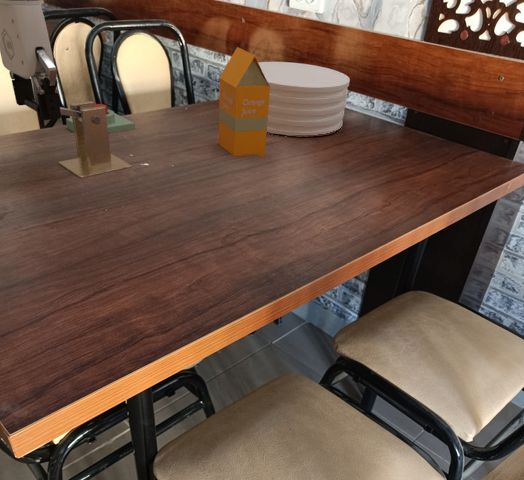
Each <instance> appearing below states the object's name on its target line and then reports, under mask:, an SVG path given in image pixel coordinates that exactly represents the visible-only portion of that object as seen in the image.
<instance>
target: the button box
mask: <svg viewBox="0 0 524 480" xmlns="http://www.w3.org/2000/svg"><path fill="white" fill-rule="evenodd" d="M107 112H108V114H107V115H106V119H107V128H108V134H112V133H119V132H124V131H131V130H135V129H136V123H135V122H133V121H131V120H130V119H127V118H126V117H123V116H121V115H119V114H118V113H115V111H114V110H111V109H108V108H107ZM65 122H66V128H67V129H68V130H69V131H71V132H73V133H74V128H73V121H72V117H68V118H65Z"/></svg>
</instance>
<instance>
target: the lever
mask: <svg viewBox="0 0 524 480" xmlns="http://www.w3.org/2000/svg"><path fill="white" fill-rule="evenodd" d="M24 103H25V105H24V106H26V107H27V108H29V109H31V110H33V111H35V112H36V113H38V114H40V115H41V113H40V108H39V103H38V101H36V100H35V101H34V100H33V99H31V98H26V99H25V101H24ZM81 109H88V108H85V107H80V109H79V111H77V110H72V109H70V108H66V107H62V106H60V112H61V116H68V117H72V116H73V117H78V120H79V121H81V122H82V117H81Z"/></svg>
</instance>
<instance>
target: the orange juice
mask: <svg viewBox="0 0 524 480" xmlns="http://www.w3.org/2000/svg"><path fill="white" fill-rule="evenodd" d="M258 62H259V61H258V59H257V57H256V55H255V54H253V53H251V52H249V51H247V50H245V49H243V48H241V47H238V46H236V48H235V50H234V52H233V54H231V57H230V59H229V60H228V62H227V64H226V65H225V67H224V69H223V70H222V72H221V74H220V76H219V100H218V101H219V102H218V103H219V104H218V105H219V106H218V144H219V145H220V146H221V147H222V148H224V149H225V150H226V151H227V152H228V153H229V154H231V155H232V157H243V156H252V155H253V156H254V155H256V156H260V157H262V156H265V157H266V144H267V134H268V133H267V123H268V107H269V94H270V85H269V84H268V82H267V80H266V78H265V76H264V74H263V72H262V70H261V68H260V66H259V64H258Z"/></svg>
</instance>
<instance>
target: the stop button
mask: <svg viewBox="0 0 524 480" xmlns="http://www.w3.org/2000/svg"><path fill="white" fill-rule="evenodd" d="M94 104H95V107H105V110H106V115H107V114H108V112H107V109H108V106H107V105H106V104H103V103H94Z"/></svg>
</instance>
